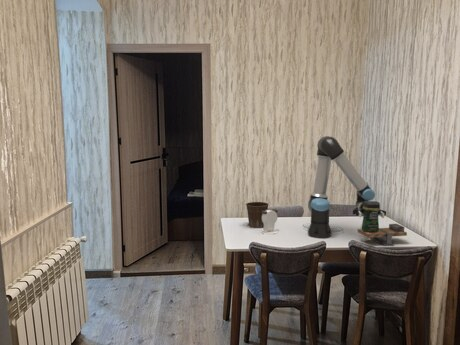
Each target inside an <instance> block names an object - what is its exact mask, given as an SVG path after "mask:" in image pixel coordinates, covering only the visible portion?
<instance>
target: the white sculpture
mask: <svg viewBox="0 0 460 345" xmlns="http://www.w3.org/2000/svg"><path fill="white" fill-rule="evenodd" d="M278 211H279V210H277V209H276V208H275V209H274V208H272V210H270V209H268V210H266V211H262V213H263V214H262V222H263V226H264V227H263V229H262V230H260V233H261V234H265V235H276V234H278V230H276V229H275V224H276V223H277V221H278V213H279V212H278Z"/></svg>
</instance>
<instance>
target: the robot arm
mask: <svg viewBox="0 0 460 345" xmlns="http://www.w3.org/2000/svg"><path fill="white" fill-rule="evenodd" d="M316 146H317V151H316V156H317V158H318V160H317V167H316V173H315V179H314V186H313V192H311V194H310V195H309V196H310V197H309V200H308V203H307V206H308V210H309V211H310V224H309V227H308V229H307V235H308V236H309V237H311V238H315V239H316V238H317V239H318V238H319V239H327V238H331V237H332V229H331V227H330V207H331V206H330V201H329V200H328V197H329V196H328V194H327V190H328V185H329V177H330V172H331V165H332V161H333V162H335V164H336V166H337V167H339V169H340V170H341V171H342V173H343V174H344V175H345V176H346V178H347V179H348V181H349V182H350V183H351V184H352V186H353V187H354V188H355V190H356V201H355V208H354V209H353V210H352V215H355V216H356V217H359V218H362V215H364V209H363V204H364V201H374V199H375V197H376V193H375V191H374V190H373V189H372V188H371V187H370V185H369V183H368V182H366V180H365V179H364V177H362V175H361V173H359V171H358V170H357V169H356V168H355V166H354V165H353V164H352V162H351V161H350V160H349V158H348V157H347V156H346V154H345V150H344V149H343V147H342V146H341V144H340V143H339V141H338V140H337V139H336V138H335V137H333V136H329V135H328V136H322V137H320V139H319V140H318V141H317V145H316ZM378 216H380V217H381V218H382V219H385V216H387V211H386V210H383V209H380V210H379V214H378Z"/></svg>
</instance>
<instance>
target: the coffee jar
mask: <svg viewBox="0 0 460 345" xmlns="http://www.w3.org/2000/svg"><path fill="white" fill-rule="evenodd" d="M363 209H364V214H363V219H362V222H361V223H362V224H361V229H362V230H363V231H366V232H378V231H379V228H380V227H379V226H380V224H379V215H378V214H379V210H381V204H380V202H379V201H377V200H376V201H374V200H371V201H364V204H363Z"/></svg>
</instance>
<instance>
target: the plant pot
mask: <svg viewBox="0 0 460 345" xmlns="http://www.w3.org/2000/svg"><path fill="white" fill-rule="evenodd" d="M245 207H246V212H247V219H248V226H249V227H250V228H253V229H260V228H261V229H262V228H264V226H263V222H262V214H263V213H262V211H266V210H269V209H268V207H269V203H268V202H263V201H250V202H247V203H245Z"/></svg>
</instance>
